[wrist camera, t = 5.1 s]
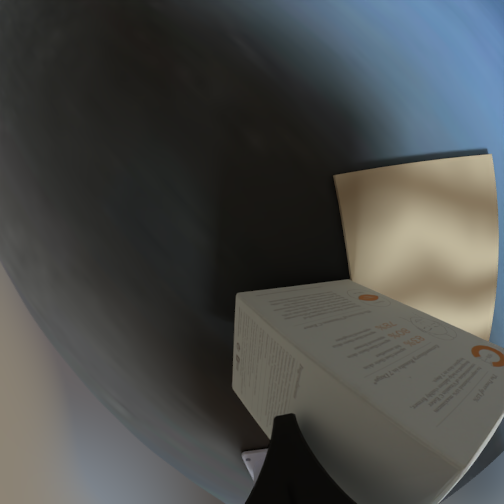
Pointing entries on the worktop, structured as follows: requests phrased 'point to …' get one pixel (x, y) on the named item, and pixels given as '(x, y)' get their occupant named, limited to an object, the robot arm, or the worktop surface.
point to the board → (426, 236)
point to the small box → (369, 386)
